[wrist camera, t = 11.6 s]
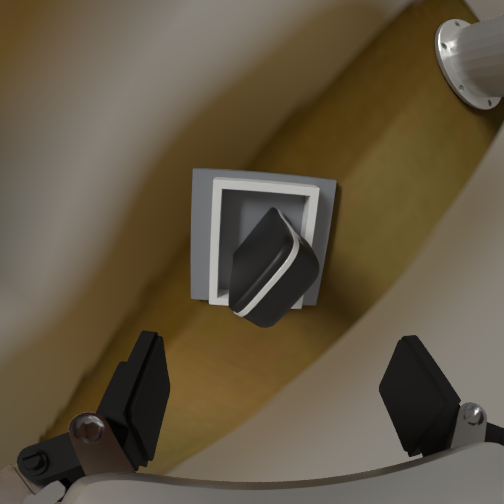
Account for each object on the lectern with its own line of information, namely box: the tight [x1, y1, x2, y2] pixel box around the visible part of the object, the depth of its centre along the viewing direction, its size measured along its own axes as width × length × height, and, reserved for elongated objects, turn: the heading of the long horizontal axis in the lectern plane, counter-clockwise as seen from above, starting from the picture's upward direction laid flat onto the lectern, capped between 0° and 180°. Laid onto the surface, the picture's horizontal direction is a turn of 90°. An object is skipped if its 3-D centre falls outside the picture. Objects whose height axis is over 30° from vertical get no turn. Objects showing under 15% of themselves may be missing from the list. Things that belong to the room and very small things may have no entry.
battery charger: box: [228, 207, 319, 328], centre depth 24 cm, size 7×4×11 cm, turn 142°
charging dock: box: [191, 168, 337, 309], centre depth 29 cm, size 14×14×3 cm
